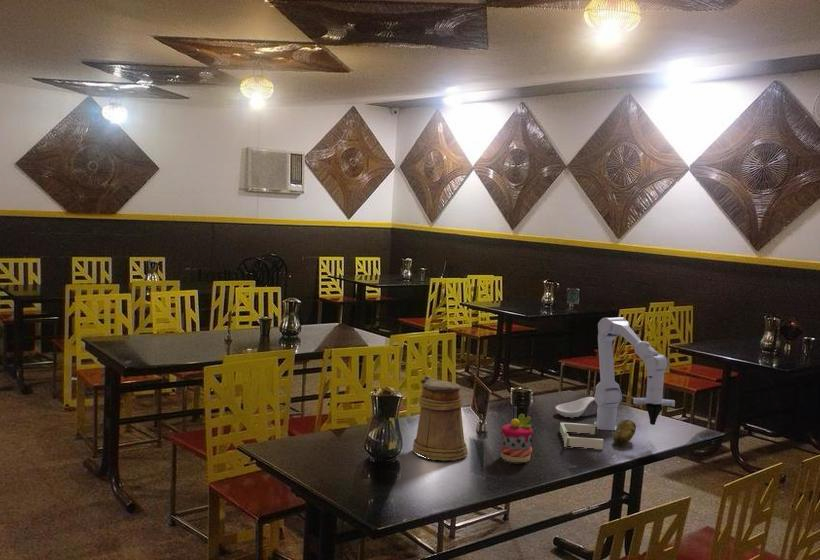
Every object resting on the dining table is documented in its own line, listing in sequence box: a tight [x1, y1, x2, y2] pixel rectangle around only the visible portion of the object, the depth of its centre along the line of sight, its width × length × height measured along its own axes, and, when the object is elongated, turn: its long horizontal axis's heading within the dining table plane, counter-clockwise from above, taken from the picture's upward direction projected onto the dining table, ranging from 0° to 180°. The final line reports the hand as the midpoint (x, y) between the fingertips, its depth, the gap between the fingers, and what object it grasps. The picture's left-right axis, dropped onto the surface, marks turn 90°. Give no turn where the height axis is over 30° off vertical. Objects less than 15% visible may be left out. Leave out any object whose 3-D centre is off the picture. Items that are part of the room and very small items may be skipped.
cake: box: [499, 413, 533, 462], centre depth 252 cm, size 10×11×15 cm
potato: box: [612, 419, 637, 447], centre depth 276 cm, size 8×13×8 cm, turn 132°
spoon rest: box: [555, 396, 595, 419], centre depth 313 cm, size 24×12×7 cm, turn 118°
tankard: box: [412, 374, 469, 461], centre depth 256 cm, size 18×24×25 cm
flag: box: [563, 430, 567, 448], centre depth 266 cm, size 3×1×7 cm, turn 175°
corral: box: [559, 422, 604, 450], centre depth 278 cm, size 19×13×4 cm
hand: (652, 424), depth 275 cm, fingers closed
